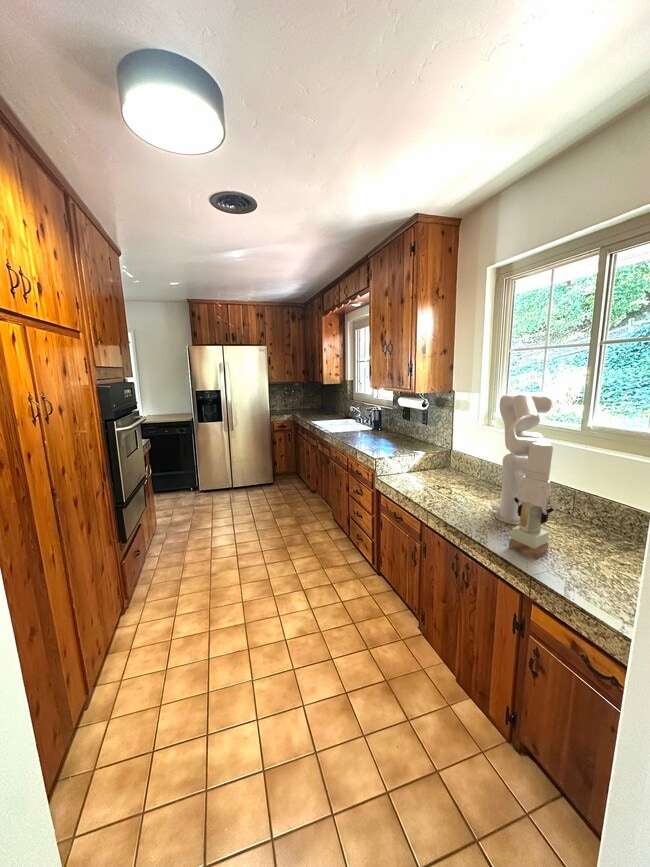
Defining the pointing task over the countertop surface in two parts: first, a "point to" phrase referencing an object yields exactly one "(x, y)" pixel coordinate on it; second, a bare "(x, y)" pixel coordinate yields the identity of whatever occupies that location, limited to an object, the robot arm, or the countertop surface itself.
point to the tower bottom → (528, 549)
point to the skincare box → (530, 518)
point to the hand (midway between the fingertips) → (531, 518)
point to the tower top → (530, 537)
